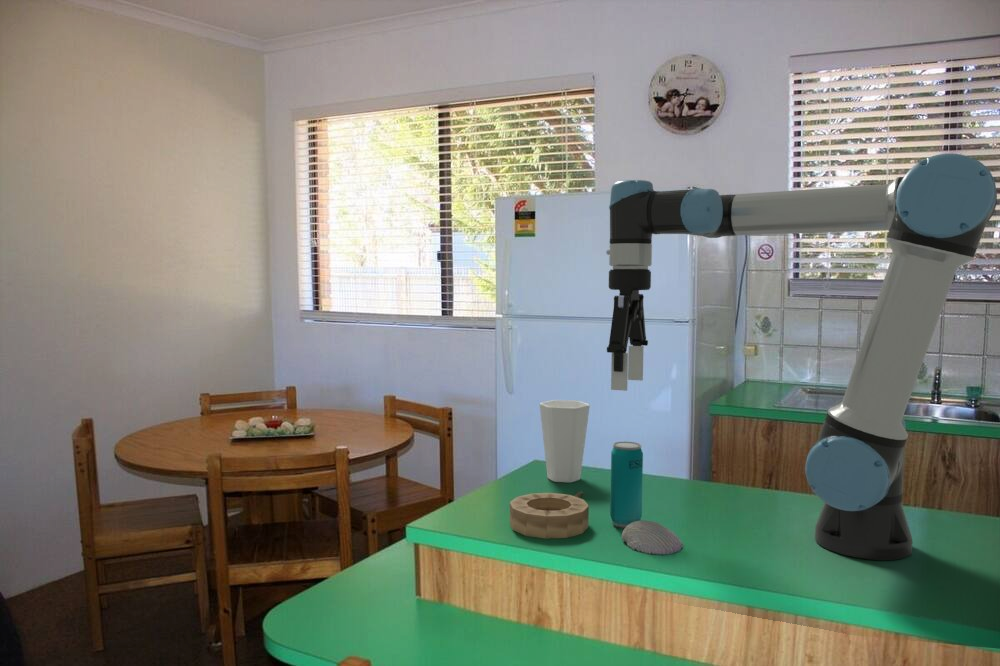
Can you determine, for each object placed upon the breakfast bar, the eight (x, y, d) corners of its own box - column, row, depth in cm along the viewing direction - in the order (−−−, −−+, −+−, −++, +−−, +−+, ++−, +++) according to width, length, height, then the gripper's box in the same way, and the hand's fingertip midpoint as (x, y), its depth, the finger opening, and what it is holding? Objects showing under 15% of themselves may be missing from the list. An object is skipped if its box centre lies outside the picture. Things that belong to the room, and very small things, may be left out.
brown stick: (582, 494, 161) (582, 492, 161) (562, 514, 148) (562, 511, 148) (578, 494, 162) (578, 491, 162) (558, 513, 149) (558, 510, 149)
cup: (590, 474, 178) (591, 401, 177) (586, 486, 168) (587, 408, 167) (542, 471, 180) (542, 399, 179) (536, 483, 170) (536, 406, 169)
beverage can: (648, 525, 142) (649, 445, 141) (625, 531, 139) (626, 449, 137) (626, 517, 147) (627, 439, 145) (603, 522, 143) (604, 443, 142)
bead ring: (595, 518, 146) (595, 498, 145) (574, 542, 133) (574, 519, 133) (526, 509, 151) (526, 489, 151) (499, 532, 138) (499, 510, 138)
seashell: (620, 516, 139) (676, 507, 136) (626, 545, 139) (682, 538, 137) (617, 533, 129) (677, 525, 126) (624, 565, 129) (684, 557, 127)
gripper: (624, 268, 152) (622, 375, 153) (591, 267, 129) (589, 393, 130) (662, 268, 149) (660, 377, 151) (636, 267, 126) (633, 396, 128)
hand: (627, 384), depth 141 cm, fingers open, 13 cm apart
